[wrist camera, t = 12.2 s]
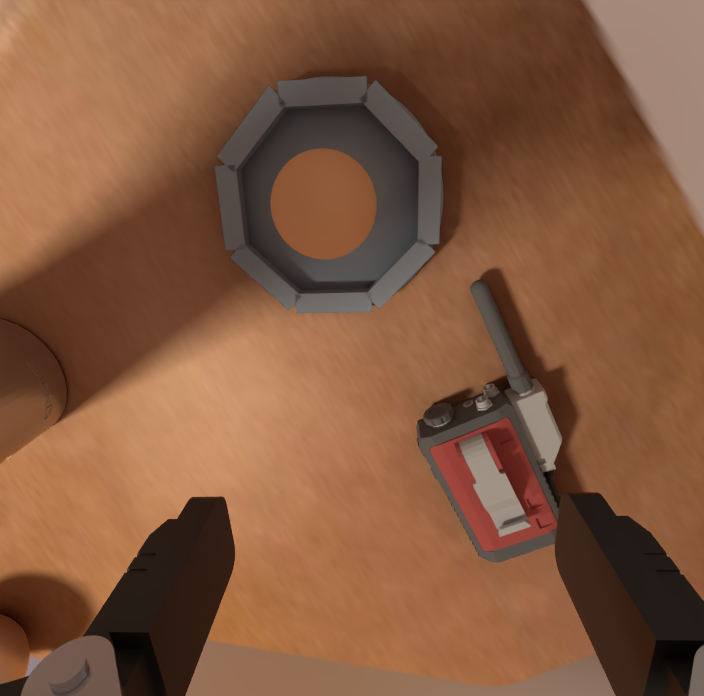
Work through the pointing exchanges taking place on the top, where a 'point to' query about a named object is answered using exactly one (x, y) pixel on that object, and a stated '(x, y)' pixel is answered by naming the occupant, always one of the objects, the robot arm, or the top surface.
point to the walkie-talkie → (497, 454)
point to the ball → (323, 203)
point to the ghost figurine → (12, 650)
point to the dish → (371, 153)
